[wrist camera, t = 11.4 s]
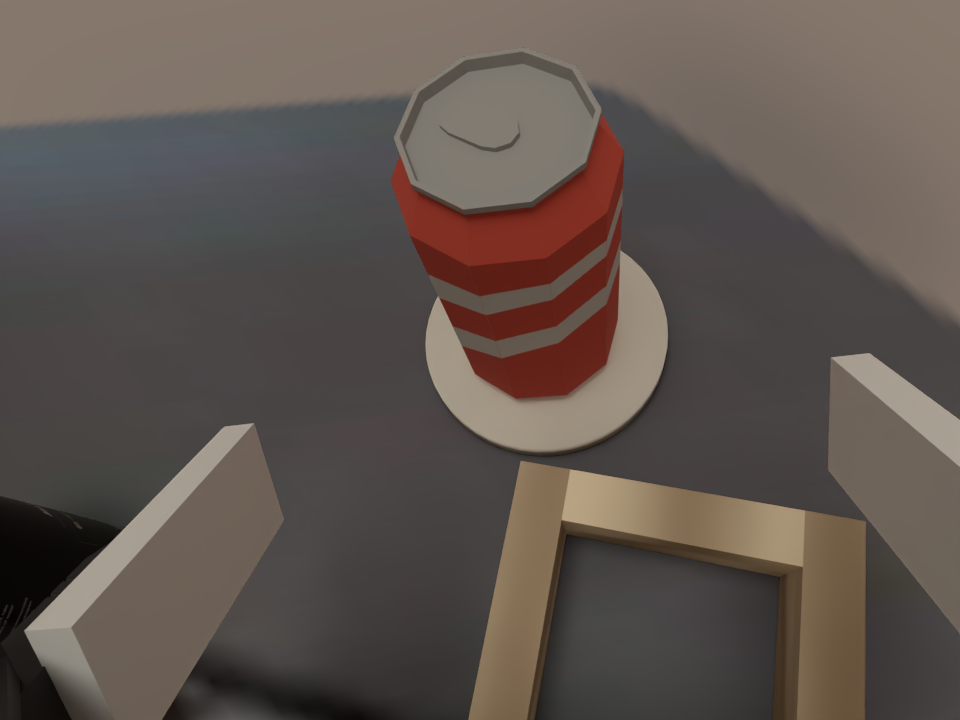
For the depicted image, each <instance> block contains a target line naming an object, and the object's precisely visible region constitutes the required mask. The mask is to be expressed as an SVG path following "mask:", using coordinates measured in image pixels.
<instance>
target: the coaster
mask: <svg viewBox="0 0 960 720" xmlns="http://www.w3.org/2000/svg"><path fill="white" fill-rule="evenodd" d="M667 342H668V328H667V318H666V314H665V310H664V306H663V303H662V301H661V298H660V296H659V293H658V291H657V289H656V288H655V286H654V284H653V283H652V281H651V279H650V278H649V277H648V276H647V274H646V273H645V272H644V271H643V269H642V268H641V267H640V266H639V265H638V264H637V263H636V262H635V261H634V260H632V259H631V258H630V257H629V256H627V255H626V254H625V253H623V252H622V251H620V276H619V303H618V321H617V325H616V329H615V333H614V337H613V341H612V345H611V348H610V352H609V356H608V360H607V364H606V365H605V366H604V367H602V368H601V369H600V370H598V371H597V372H596V373H595V374H593V375H592V376H591V377H589V378H588V379H587V380H586V381H584V382H583V383H582V384H580V385H579V386H578V387H577V388H575V389H574V390H573V391H572V392H570V393H569V394H568V395H562V396H547V397H533V398H519V399H515V398H514V397H512V396H510V395H509V394H507V393H505V392H504V391H502V390H500V389H499V388H497V387H495V386H494V385H492V384H490V383H489V382H487V381H485V380H484V379H482V378H480V377H479V376H477V375H475V373H474V371H473V369H472V367H471V365H470V362H469V360H468V358H467V356H466V354H465V352H464V350H463V348H462V345H461V343H460V341H459V339H458V337H457V335H456V333H455V331H454V328H453V326H452V324H451V322H450V320H449V318H448V316H447V313H446V311H445V309H444V307H443V305H442V303H441V301H440V299H439V296H438V297H437V299H436V301H435V303H434V306H433V309H432V311H431V314H430V317H429V321H428V326H427V331H426V358H427V363H428V368H429V372H430V375H431V378H432V380H433V383H434V385H435V387H436V389H437V391H438V393H439V395H440V396H441V398H442V400H443V401H444V403H445V404H446V406H447V407H448V409H449V410H450V411H451V413H452V414H453V415H454V416H455V418H456V419H457V420H458V421H459V422H460V423H461V424H462V425H463V426H464V427H465V428H466V429H468V430H469V431H470V432H472V433H473V434H474V435H476V436H477V437H478V438H480V439H482V440H484V441H486V442H488V443H489V444H491V445H494V446H496V447H499V448H501V449H504V450H507V451H511V452H515V453H519V454H525V455H534V456H556V455H563V454H569V453H574V452H577V451H581V450H584V449H588V448H590V447H592V446H595V445H597V444H599V443H602V442H604V441H605V440H607V439H609V438H610V437H612V436H614V435H616V434H617V433H618V432H620V431H621V430H622V429H624V428H625V427H626V426H627V425H629V424H630V423H631V422H632V421H633V420H634V419H635V418H636V417H637V416H638V415H639V414H640V412H641V411H642V410H643V408H644V407H645V406H646V404H647V403H648V402H649V400H650V399H651V397H652V395H653V393H654V391H655V389H656V387H657V385H658V382H659V380H660V377H661V374H662V371H663V366H664V361H665V356H666V351H667Z"/></svg>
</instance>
